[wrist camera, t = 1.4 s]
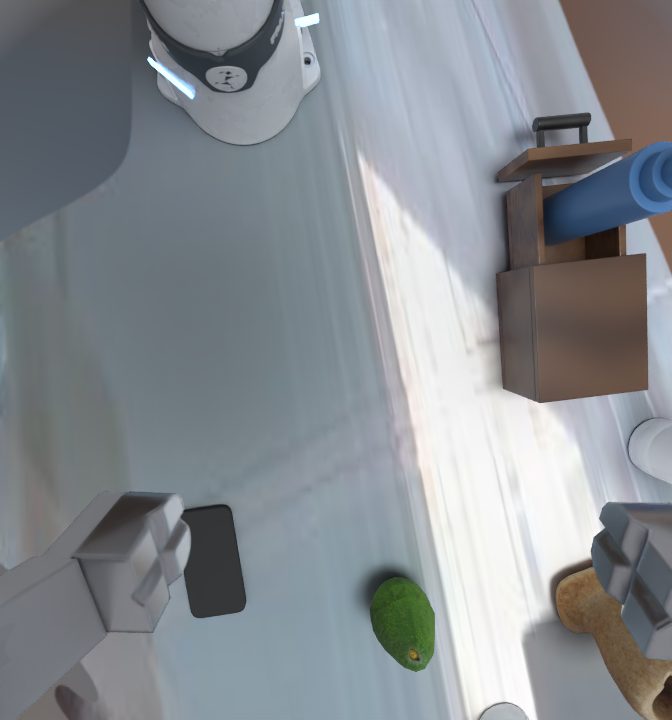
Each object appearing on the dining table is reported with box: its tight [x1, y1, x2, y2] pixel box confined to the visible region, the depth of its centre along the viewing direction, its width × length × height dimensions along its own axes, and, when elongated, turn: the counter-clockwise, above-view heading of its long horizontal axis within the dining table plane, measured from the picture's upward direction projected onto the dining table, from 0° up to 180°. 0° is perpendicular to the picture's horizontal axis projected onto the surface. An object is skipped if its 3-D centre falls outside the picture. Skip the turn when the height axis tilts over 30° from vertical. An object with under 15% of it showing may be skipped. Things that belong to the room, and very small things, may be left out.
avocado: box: [370, 577, 435, 672], centre depth 49 cm, size 8×8×12 cm
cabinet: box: [496, 253, 648, 403], centre depth 47 cm, size 15×13×9 cm
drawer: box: [498, 113, 632, 271], centre depth 45 cm, size 18×11×7 cm, turn 6°
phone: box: [180, 505, 246, 618], centre depth 52 cm, size 7×1×15 cm
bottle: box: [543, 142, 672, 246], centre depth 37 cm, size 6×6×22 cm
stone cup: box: [556, 567, 672, 720], centre depth 49 cm, size 15×12×15 cm
